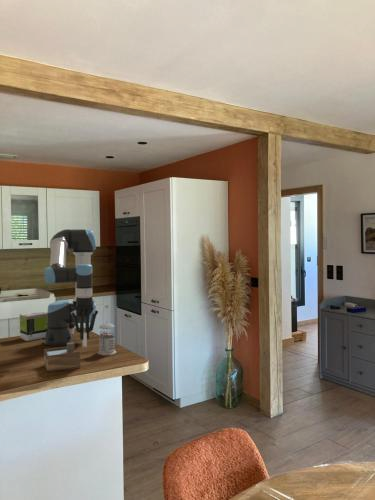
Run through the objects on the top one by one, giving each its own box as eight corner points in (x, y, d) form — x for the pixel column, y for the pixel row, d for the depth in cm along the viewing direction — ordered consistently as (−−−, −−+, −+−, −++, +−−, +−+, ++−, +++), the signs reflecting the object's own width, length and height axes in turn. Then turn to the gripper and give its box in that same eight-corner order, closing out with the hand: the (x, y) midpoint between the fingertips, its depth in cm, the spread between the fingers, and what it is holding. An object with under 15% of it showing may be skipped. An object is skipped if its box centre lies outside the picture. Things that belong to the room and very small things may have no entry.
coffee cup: (76, 335, 252) (76, 311, 252) (59, 336, 250) (59, 312, 249) (75, 332, 262) (75, 308, 262) (59, 333, 259) (59, 309, 259)
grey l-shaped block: (46, 354, 193) (46, 343, 193) (72, 351, 199) (72, 340, 199) (50, 360, 184) (50, 348, 184) (77, 357, 190) (77, 345, 190)
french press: (119, 350, 219) (119, 303, 219) (109, 356, 208) (109, 307, 207) (102, 349, 222) (102, 303, 221) (92, 355, 211) (92, 306, 210)
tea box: (43, 334, 256) (43, 310, 255) (51, 337, 249) (51, 312, 248) (19, 338, 245) (19, 313, 245) (26, 341, 238) (26, 316, 238)
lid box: (44, 365, 194) (44, 349, 194) (74, 361, 200) (74, 345, 200) (48, 372, 183) (48, 355, 183) (80, 368, 190) (80, 351, 190)
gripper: (72, 298, 189) (72, 349, 190) (100, 296, 196) (100, 346, 196) (68, 296, 196) (68, 345, 197) (95, 294, 202) (95, 342, 203)
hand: (84, 346), depth 197 cm, fingers closed
